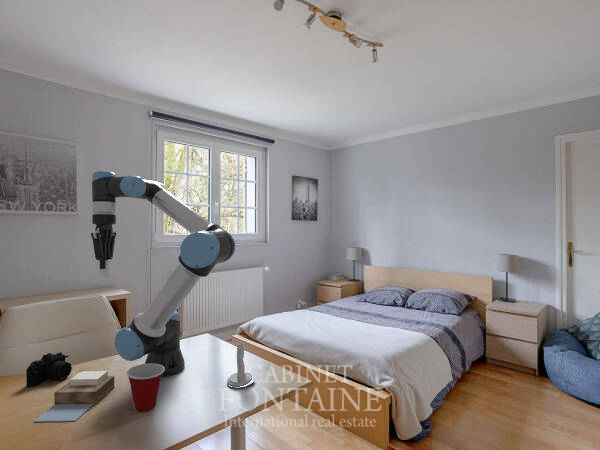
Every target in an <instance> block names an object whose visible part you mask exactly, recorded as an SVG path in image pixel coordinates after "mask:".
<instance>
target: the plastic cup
mask: <svg viewBox="0 0 600 450" xmlns="http://www.w3.org/2000/svg"><path fill="white" fill-rule="evenodd" d="M164 370H165V368H164V367H163V366H162V365H159V364H152V363H149V364H145V363H141V364H137V365H135V366H132V367H130V368H129V369H128V370H127V371H126V375H127V377H128V381H129V385H130V391H131V396H132V401H133V404H134V409H135V411H136V412H137V413H146V412H149V411H152V410H153V409H155V408H156V405H157V399H158V395H159V390H160V384H161V380H162V377H161V376H162V374H163V372H164Z"/></svg>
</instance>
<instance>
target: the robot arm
mask: <svg viewBox="0 0 600 450" xmlns="http://www.w3.org/2000/svg"><path fill="white" fill-rule="evenodd" d="M91 195H92V196H91V199H92V200H91V201H92V204H91V207H92V213H93V214H92V215H91V216H92V217H91V218H92V219H91V223H92V225H95V228H94V232H91V233H90V237H91V239H92V243H93V244H92V245H93V252H94V257H95V260H96V261H99V278H100V279H108V278H110V260H113V257H114V249H115V243H116V237H117V232H115V231H113V230H114V229H113V228H114V227H113V225H116V224H117V222H116V221H117V218H116V217H117V216H116V213H117V209H116V208H117V206H116V204H117V201H116V198H132V199H141V200H147V202H149V203H151V204H152V205H153V206H155V207H156V208H157V209H158V210H160V211H161V212H162V213H163V214H165V215H167V216H168V217H169V218H171V219H172V220H173V221H174V222H175V223H177V224H178V225H179V226H181V227H182V228H183V229H185V230H186V231H188V233H190V234H188V235H187V236H186V237H185V238H184V239H183V241H182V242H181V245H180V248H179V250H180V253H179V256H178V258H177V259H178V264H177V266H176V268H175V269H174V271H173V272H172V273H171V274H170V276H169V277H168V279H167V280H166V281H165V283H164V284H163V285H162V287H161V288H160V290H159V291H158V293H156V295H155V296H154V298H153V299H152V301H151V302H150V303H149V305H148V306H147V307H146V309H145V310H144V312H143V311H142V312H139V313H137V314H136V315H135V317H134V318H133V319H132V320H131V322H130V323H129V325H127V326H126V327H122V328H121V329H119V330H118V332H116V334H115V336H114V345H115V346H114V348H115V351H116V352H117V354H118V356H120V357H121V359H123V360H125V361H128V362H134V361H137V360H140V359H141V358H143V357H145V356H146V358H145V362H144V364H149V363H152V364H159V365H162V366H163V367H164V368H165V370H164V372H163V374H162V376H161V378H167V377H171V376H174V375H176V374H178V373H180V372H182V371H183V370H184V369H185V367H186V365H185V363H186V362H185V358H184V356H183V352H182V350H181V319H180V313H179V312H178V311H177V310H178V309H179V307H180V306H181V305H182V303H183V302H184V301H185V299H186V298H187V297H188V295H189V294H190V292H191V291H192V290H193V289H194V287H195V286H196V284H197V283H198V282H199V281H200V279H201V278H206V277H208V276H209V275H210V273H211V272H212V271H213V270H214V268H215V267H216V265H217V264H222V263H225V262H227V261H229V260H230V259H231V258H232V257H233V256H234V253H235V251H236V242H235V239H234V237H233V236H232V234H231V233H229V232H228V231H227V230H225V229H224V228H222V227H221V226H220V225H219V224H217V223H211V222H210V221H209V220H207V219H206V218H205V217H203V216H202V215H201V214H199V213H197V212H196V211H195V210H194V209H192V208H191V207H190V206H188V205H187V204H186V203H184V202H182V201H181V200H180V199H179V198H177V197H176V196H174V195H173V194H172V193H171V192H169V191H168V190H167V188H166V186H165V185H164V184H163V183H161V182H158V181H154V180H147V179H143V178H142V177H141V176H138V175H128V176H127V175H126V176H116V173H115V172H113V171H104V170H103V171H101V170H98V171H94V172H93V173H92V180H91Z"/></svg>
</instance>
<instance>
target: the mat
mask: <svg viewBox="0 0 600 450" xmlns="http://www.w3.org/2000/svg"><path fill="white" fill-rule="evenodd" d="M94 405H95V404H55V403H54V405H52V406H51V407H50V408H49V409H47V410H46V411H45V412H44V413H42V414H41V415H39V416H38V417H37V418H36V419H34V420H33V423H57V422H61V423H62V422H76V421H77V420H79V419H80V418H81V417H82V416H83V415H84V414H86V412H87V411H88V410H90V409H91V408H92V407H93V406H94Z"/></svg>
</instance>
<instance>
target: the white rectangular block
mask: <svg viewBox="0 0 600 450" xmlns="http://www.w3.org/2000/svg"><path fill="white" fill-rule="evenodd" d="M108 376H109V371H108V370H99V371H98V370H95V371H91V370H90V371H80V372H79V373H77V374H76V375H75V376H73V377H71V378H70V381H69V382H70V385H98V384H100V383H101V382H102V381H103V380H104V379H106V378H107V377H108Z"/></svg>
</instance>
